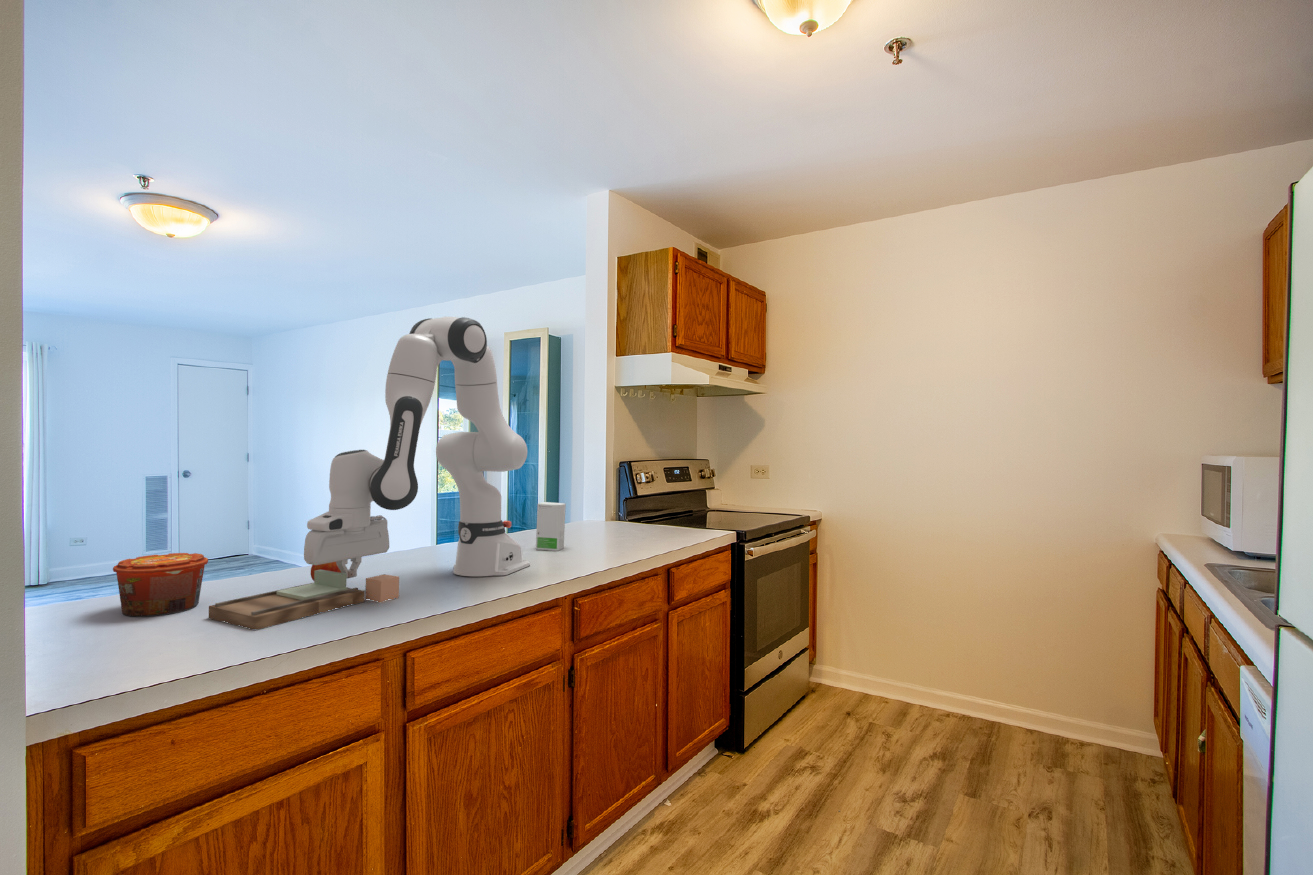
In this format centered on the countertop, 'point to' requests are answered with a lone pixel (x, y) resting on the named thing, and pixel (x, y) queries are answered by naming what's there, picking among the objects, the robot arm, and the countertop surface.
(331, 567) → the fruit
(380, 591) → the terracotta block
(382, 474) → the robot arm
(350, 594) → the puzzle board
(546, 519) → the skincare box
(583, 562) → the countertop surface
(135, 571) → the food container
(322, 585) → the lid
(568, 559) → the countertop surface
